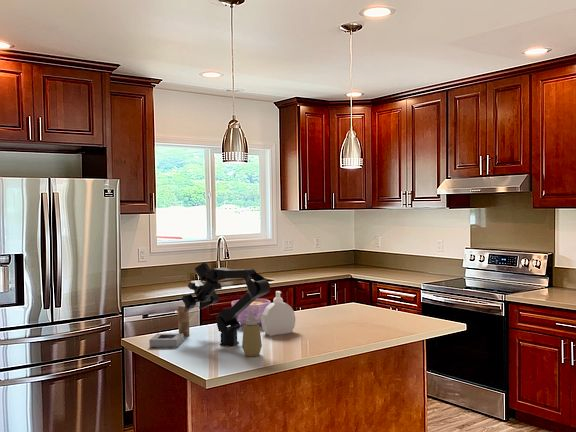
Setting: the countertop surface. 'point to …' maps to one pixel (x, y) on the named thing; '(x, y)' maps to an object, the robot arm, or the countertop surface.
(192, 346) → the countertop surface
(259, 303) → the bowl of food
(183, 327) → the walnut peg
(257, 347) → the squeeze bottle
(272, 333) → the soap bottle
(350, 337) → the countertop surface
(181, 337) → the socket block
